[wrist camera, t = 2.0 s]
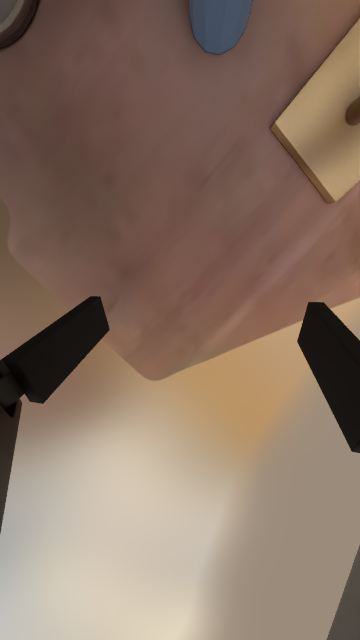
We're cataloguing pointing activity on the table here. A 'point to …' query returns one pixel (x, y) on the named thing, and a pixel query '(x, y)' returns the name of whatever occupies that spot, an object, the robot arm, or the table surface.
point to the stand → (327, 121)
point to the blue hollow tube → (218, 22)
